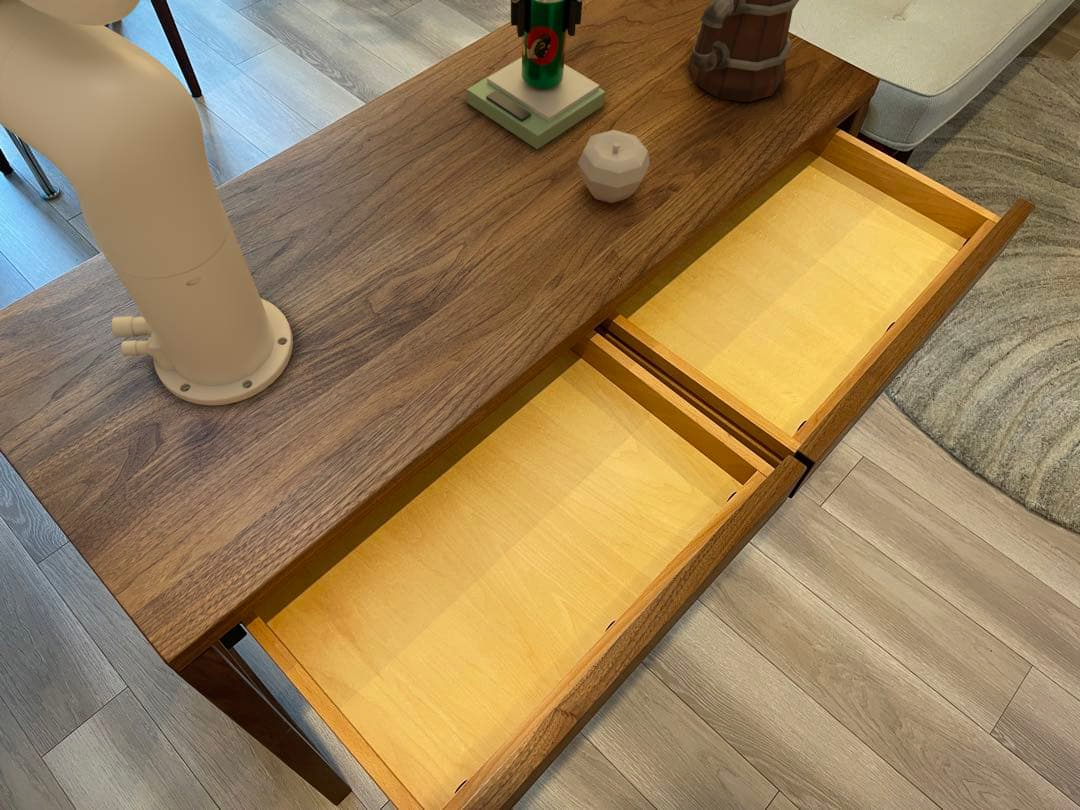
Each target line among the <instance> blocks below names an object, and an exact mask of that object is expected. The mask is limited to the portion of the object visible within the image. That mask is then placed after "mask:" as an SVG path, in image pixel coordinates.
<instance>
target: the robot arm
mask: <svg viewBox="0 0 1080 810" xmlns="http://www.w3.org/2000/svg"><path fill="white" fill-rule="evenodd" d="M140 1H141V0H0V125H1V126H2V127H4V128H5V129H7V130H8V131H9V132H10V133H12V134H13V135H15V137H18V138H19V139H20V140H21V141H22V142H24V143H25V144H26V145H27V146H29V147H30V148H32V149H33V150H34V151H36V152H37V153H38V154H40V155H42V157H44V158H45V159H46V160H47V161H49V162H50V163H51V164H52V165H53V166H54V167H55V168H56V169H57V170H58V171H59V172H60V173H61V174H62V175H63V176H64V177H65V178H66V180H67V181H68V182H69V184H70V185H71V186H72V188H73V190H74V192H75V193H76V195H77V198H78V201H79V204H80V208H81V213H82V215H83V219H84V221H85V223H86V226H87V228H88V230H89V231H90V233H91V235H92V237H93V239H94V241H95V242H96V244H97V246H98V247H99V249H100V250H101V252H102V254H103V255H104V257H105V259H106V261H108V263H109V264H110V265H111V267H112V269H113V270H114V272H115V273H116V275H117V277H118V279H119V280H120V281H121V283H122V285H123V286H124V288H125V290H126V292H127V293H128V295H129V296H130V298H131V299H132V301H133V303H134V305H135V306H136V307H137V310H138V311H139V312H140V314H141V316H135V315H131V316H130V315H129V316H127V315H126V316H114V317H113V318H112V320H111V331H112V334H113V336H114V337H115V338H118V339H119V338H137V337H141V336H149V337H148V339H147V340H139V339H138V340H137V339H136V340H123V341H122V342H121V344H120V349H121V353H122V355H123V356H124V357H130V356H140V355H149V356H150V357H152V358H153V366H154V371H155V372H156V374H157V376H158V378H159V380H160V381H161V382H162V384H163V385H164V387H165V388H166V389H167V390H168V392H171V394H173V395H174V396H175V397H178V398H180V399H181V400H183V401H186V402H187V403H188V402H189V403H192V404H195V405H203V406H223V405H229V404H235V403H239V402H241V401H244V400H248V399H249V398H251V397H253V396H255V395H257V394H259V393H261V392H262V391H264V390H265V389H267V388H268V387H270V386H271V385H272V384H273V383H274V382H275V381H277V379H278V378H279V377H280V376H281V375H282V374H283V372H284V370H285V369H286V367H287V366H288V364H289V361H290V360H291V357H292V354H293V348H294V338H293V332H292V329H291V325H290V323H289V321H288V320H287V318H286V315H285V314H284V313H283V312H282V311H281V310H280V309H279V307H277V306H276V305H274V304H273V303H272V302H270V301H268V300H266V299H264V298H261V296H260V293H259V291H258V289H257V286H256V283H255V282H254V279H253V276H252V274H251V271H250V269H249V267H248V264H247V261H246V259H245V256H244V254H243V252H242V248H241V247H240V244H239V241H238V239H237V237H236V234H235V232H234V229H233V227H232V223H231V221H230V219H229V217H228V215H227V212H226V211H225V208H224V205H223V202H222V200H221V197H220V196H219V192H218V190H217V186H216V184H215V181H214V179H213V175H212V172H211V168H210V164H209V161H208V156H207V149H206V143H205V137H204V136H205V135H204V130H203V125H202V121H201V116H200V113H199V110H198V108H197V105H196V103H195V100H194V99H193V97H192V95H191V94H190V92H189V90H187V89H188V88H186V86H185V85H184V83H182V81H181V80H180V79H179V78H178V77H177V75H175V73H173V72H172V71H171V70H170V69H169V68H168V67H167V66H166V65H164V64H163V63H162V62H161V61H160V60H158V59H157V58H156V57H154V56H153V55H152V54H150V53H149V52H147V51H146V50H144V49H143V47H140V46H139V45H137V44H135V43H134V42H132V41H130V40H128V39H127V38H125V37H124V36H122V35H120V34H119V33H117V32H116V31H114V30H112V29H110V28H109V27H107V25H110V24H113V23H116V22H119V21H121V20H123V19H125V18H127V17H128V16H129V15H131V14H132V13H133V11H135V9H136V8H137V7H138V5H139V3H140ZM584 1H585V0H569V8H568V21H567V35H569V37H575V35H576V25H581V21H582V10H583V2H584ZM510 25H511V26H513V27H514V26H515V27H516V33H517V37H518V38H522V37H523V36H524V30H525V0H510Z"/></svg>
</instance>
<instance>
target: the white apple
mask: <svg viewBox="0 0 1080 810" xmlns="http://www.w3.org/2000/svg"><path fill="white" fill-rule="evenodd" d="M650 163H651V160H650V154H649V150H648V149H647V148H646V147H645V145H644V144H643V143H642V141H641V140H640V139H639V138H638V137H637V136H636V135H634V134H631V133H627V132H623V131H619V130H616V129H610V130H608V131H603V132H600V133H597V134H592V135H590V137H589V139H588V141H587V143H586V145H585V147H584V148H583V150H582V153H581V155H580V157H579V159H578V162H577V166H578V170H579V172H580V178H581V180H582V181H583V183H584V185H585V186H586V187H587V189H588V190H589V192H590V193H591V195H592V196H593V198H594V199H595V200H598V201H601V202H605V203H609V204H613V203H617V202H620V201H623V200H626V199H628V198H630V197H631V196H632V195H634V194H635V193H636V191H637V190H638V188H639V186H640V185H641V183H642V181H643V180H644V177H645V175H646V173H647V170H648V168H649V166H650Z"/></svg>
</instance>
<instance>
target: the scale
mask: <svg viewBox="0 0 1080 810" xmlns="http://www.w3.org/2000/svg"><path fill="white" fill-rule="evenodd" d="M521 72H522V56H520V57H519V58H517V59H515V60H514V61H512V62H511V63H509V64H506V65H505V66H504V67H502V68H500V69H498V70H497V71H495V72H494V73H491V74H490V75H488V76H487V77H485V78H483V79H482V80H480V81H478V82H476V83H474V84H473V85H471V86H469V87H468V88H466V103H467V104H468V105H469V106H471V107H472V108H474V109H476V111H479V112H480V113H482V115H484V116H485V117H487V118H489V119H491V121H493V122H495V123H497V124H498V125H499V126H500V127H502V128H504V129H505V130H507V131H509V132H510V133H512V134H513V135H514V136H516V137H518V138H519V139H521V140H522V141H524V142H525V143H527V144H529V145H530V146H531V147H532V148H534V149H535V150H539V149H541V148H542V147H543V146H545V145H546V144H548V143H549V142H551V141H553V140H554V139H556V138H557V137H559V136H560V135H561V134H563V133H564V132H566V131H567V130H569V129H570V128H573V127H574V126H575V125H577V124H578V123H579V122H581V121H582V120H583V121H584V119H586V118H587V117H588V116H590V115H591V114H594V113H595V112H597V111H598V110H600V109H601V108H602V107H604V105H605V98H606V91H605V90H604V89H602V88H600V84H598V83H596V82H595V81H593V80H592V79H590V78H589V77H587V76H585V75H583V74H582V73H581V72H578V71H577V70H575V69H573V68H571V66H568V65H566V64H565V63H564V72H563V79H562V81H561V82H560V83H559V84H558V85H557V86H556V87H554V88H552V89H548V90H538V89H534V88H532V87H530V86H529V85H528V84H526V83H525V81H524V80H523V78H522V75H521Z"/></svg>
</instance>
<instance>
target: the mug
mask: <svg viewBox="0 0 1080 810" xmlns="http://www.w3.org/2000/svg"><path fill="white" fill-rule="evenodd" d="M799 1H800V0H711V1H710V2H709V4H708V5H707V7H706V9H705V10H704V11H703V12H704V13H702V16H701V17H700V22H701V26H700V27H699V28H698V30H697V32H696V38H697V40H696V43H694V45H693V46H692V47H691V55H690V60H689V64H688V68H689V71H690V74H691V77H692V78H693V82H694V84H695V86H697V87H699V88H701V89H702V90H703V91H706V92H708V93H709V94H711V95H712V96H714V97H715V98H717V99H722V100H727V101H734V102H735V101H736V102H743V103H750V102H754V101H757V100H760V99H764V98H767V97H771V96H773V95H774V93H775V92H776V91H777V89H778V87H779V85H780V84H781V82H782V80H783V77H784V75H785V71H786V69H787V68H786V67H787V66H786V64H787V63H786V57H787V56H788V54H789V52H790V51H791V49H792V47H793V42H792V40H791V39H790V36H789V32H790V31H789V30H790V27H791V21H792V15H793V11H794V9H795V7H796V6H797V5H798V3H799Z"/></svg>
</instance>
